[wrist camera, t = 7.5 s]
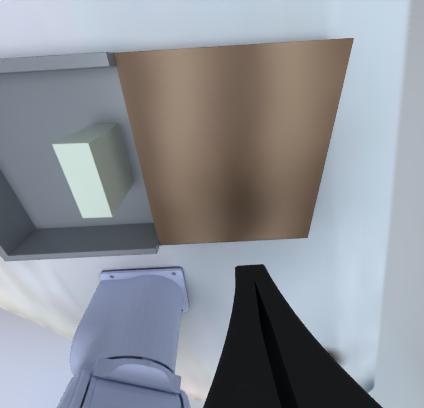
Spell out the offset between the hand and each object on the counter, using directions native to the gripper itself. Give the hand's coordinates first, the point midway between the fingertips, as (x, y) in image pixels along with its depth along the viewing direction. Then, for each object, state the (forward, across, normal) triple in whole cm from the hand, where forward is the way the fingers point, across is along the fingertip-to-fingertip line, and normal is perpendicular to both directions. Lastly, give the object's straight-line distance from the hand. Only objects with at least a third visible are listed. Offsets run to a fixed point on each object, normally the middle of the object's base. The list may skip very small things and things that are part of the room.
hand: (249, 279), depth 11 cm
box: (+10, +13, -3) cm, 17 cm away
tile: (+7, +8, -4) cm, 12 cm away
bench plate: (+10, 0, -3) cm, 11 cm away
